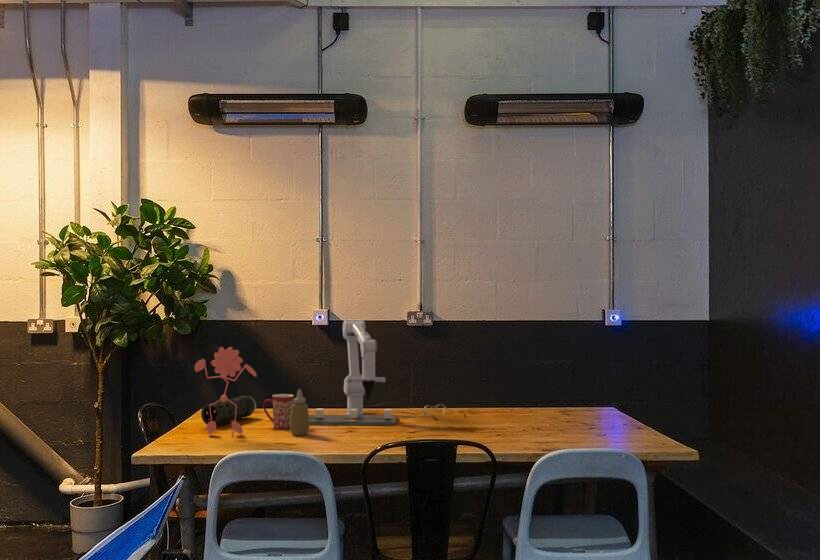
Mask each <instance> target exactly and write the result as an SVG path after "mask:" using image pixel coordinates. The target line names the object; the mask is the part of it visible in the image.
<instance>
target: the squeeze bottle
mask: <svg viewBox="0 0 820 560" xmlns="http://www.w3.org/2000/svg"><path fill="white" fill-rule="evenodd" d="M309 415H310V414H309V406H308V403H306V397H303V391H302V389H301V388H299V389H298V390H297V393H296V397H295V398H294V397H293V404H292V405H291V413H290V423H289V427H290V428H289V430H290V432H291V435H292V436H297V437H299V436H302V437H303V436H306V435H308V432H309V429H310V426H311V425H310V424H309Z"/></svg>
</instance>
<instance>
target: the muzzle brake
mask: <svg viewBox="0 0 820 560" xmlns="http://www.w3.org/2000/svg"><path fill="white" fill-rule="evenodd" d="M229 400H230V401H231V402H233V403H234V404H236V405H234V404H233V403H231V402H230V401H228V400H227V401H225V402H223V401H221V400H220V401H218V402H216V401H215V402H216V403H215V402H212V403H208V404H205V405H204V406H203V407H202V409H201V413H200V415H201V419H202V421H203V423H205V425H206V426H207V425H208V423H209V422H211V416H212V421H214V422H215V423H216V427H217V426H222V425H225V424H227V423H228V424H229V423H230V422H233V421H235V411H236V422H238V421H242V420H243V418H247V417H250V416H252V414H254V412H255V411H256V409H257V404H256V403H257V402H256V400H255V399H254V398H253V397H252V396H250V395H241V396H237V397H236V398H230V399H229ZM213 403H215V404H213ZM211 404H213V405H211ZM210 405H211V406H210ZM209 406H210V408H209ZM236 406H237V410H236ZM210 409H211V416H210Z"/></svg>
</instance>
